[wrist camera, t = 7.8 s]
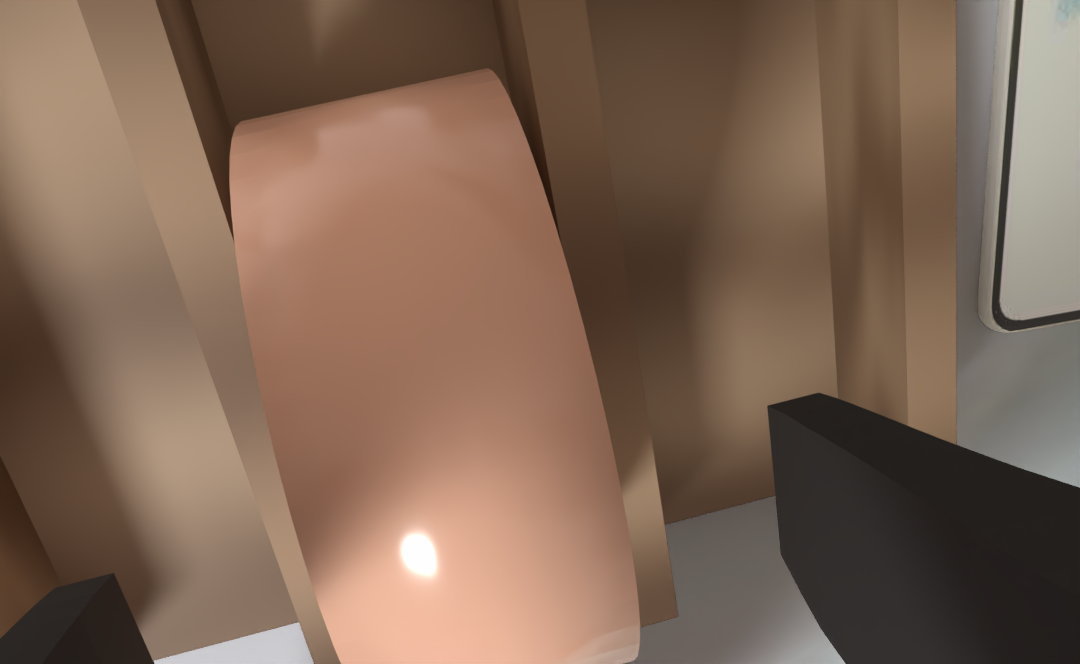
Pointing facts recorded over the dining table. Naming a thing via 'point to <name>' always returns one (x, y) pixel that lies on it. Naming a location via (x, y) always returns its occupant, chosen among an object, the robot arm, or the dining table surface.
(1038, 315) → the smartphone
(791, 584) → the dining table surface
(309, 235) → the peach cylinder disc
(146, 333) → the rack
